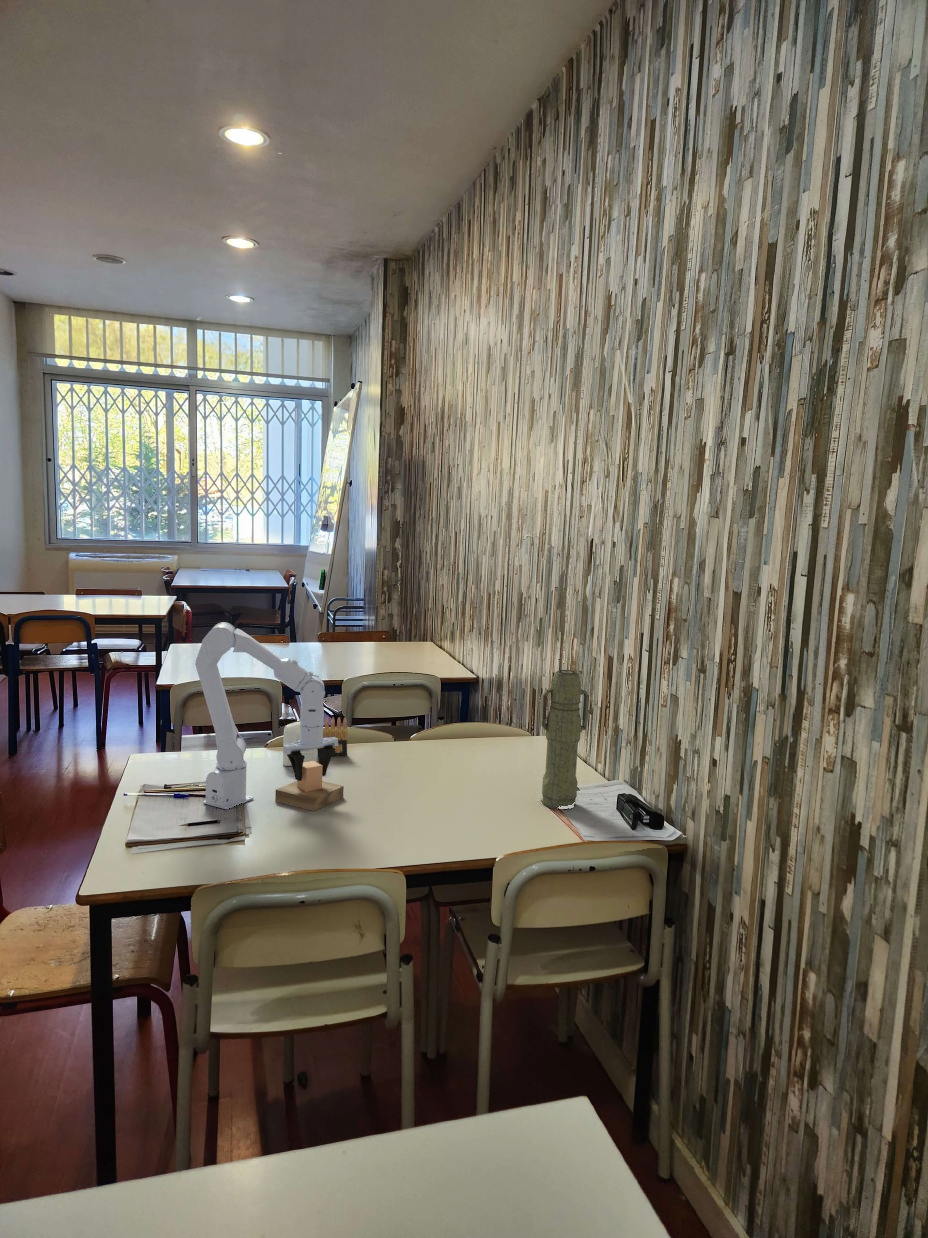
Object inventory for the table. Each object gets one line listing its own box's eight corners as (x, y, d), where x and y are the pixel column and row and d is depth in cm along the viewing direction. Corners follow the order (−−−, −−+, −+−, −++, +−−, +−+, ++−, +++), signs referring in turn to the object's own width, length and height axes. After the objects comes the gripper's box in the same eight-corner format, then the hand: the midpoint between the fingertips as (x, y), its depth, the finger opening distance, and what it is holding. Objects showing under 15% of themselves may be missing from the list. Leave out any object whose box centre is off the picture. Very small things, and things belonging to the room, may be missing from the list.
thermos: (531, 799, 208) (539, 668, 204) (573, 797, 210) (582, 668, 206) (542, 811, 199) (550, 674, 195) (585, 809, 202) (595, 675, 198)
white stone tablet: (313, 759, 233) (315, 718, 232) (319, 763, 230) (320, 721, 228) (280, 763, 227) (281, 721, 226) (285, 767, 224) (286, 725, 222)
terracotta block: (306, 791, 196) (306, 768, 195) (297, 786, 199) (297, 763, 199) (321, 788, 199) (322, 765, 198) (312, 783, 202) (313, 760, 202)
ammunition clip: (311, 757, 235) (312, 717, 234) (311, 755, 237) (312, 716, 236) (347, 756, 237) (348, 717, 236) (346, 754, 239) (348, 716, 238)
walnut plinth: (313, 811, 191) (313, 799, 191) (275, 801, 197) (275, 789, 197) (343, 797, 202) (343, 786, 202) (306, 788, 207) (306, 777, 207)
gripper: (328, 717, 205) (326, 768, 207) (277, 724, 195) (276, 778, 197) (343, 723, 200) (341, 775, 201) (291, 731, 190) (290, 785, 192)
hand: (310, 777), depth 199 cm, fingers open, 6 cm apart
